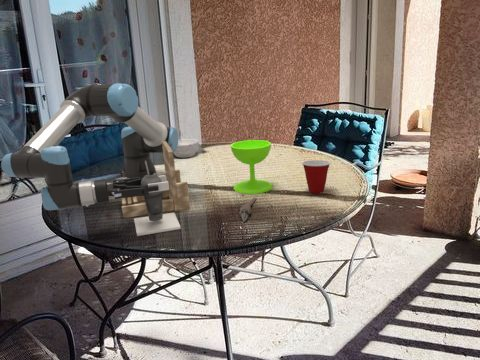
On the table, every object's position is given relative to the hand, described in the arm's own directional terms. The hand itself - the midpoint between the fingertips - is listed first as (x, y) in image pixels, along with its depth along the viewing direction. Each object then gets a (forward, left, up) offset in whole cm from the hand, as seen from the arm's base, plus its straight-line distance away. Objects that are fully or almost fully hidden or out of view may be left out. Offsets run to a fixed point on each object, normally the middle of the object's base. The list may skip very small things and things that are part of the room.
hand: (166, 182), depth 151 cm
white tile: (-4, -3, -14) cm, 15 cm away
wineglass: (+16, +41, -14) cm, 46 cm away
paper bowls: (-37, +89, -14) cm, 97 cm away
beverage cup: (-4, -3, -12) cm, 13 cm away
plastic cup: (+42, +40, -14) cm, 60 cm away
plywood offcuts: (-22, +9, -14) cm, 27 cm away
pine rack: (-14, +14, -14) cm, 25 cm away
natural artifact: (+23, +16, -15) cm, 31 cm away
